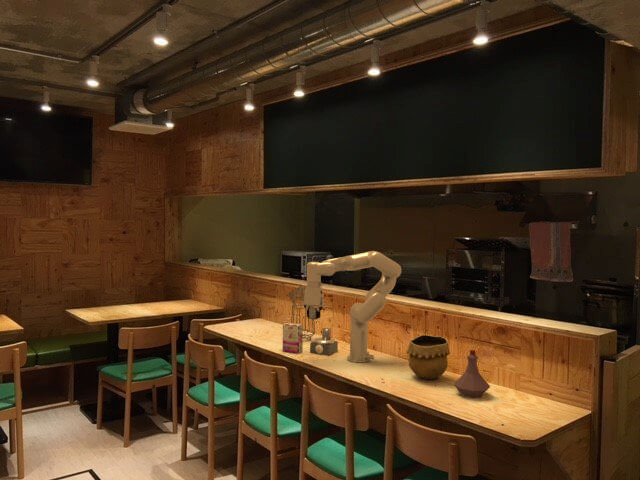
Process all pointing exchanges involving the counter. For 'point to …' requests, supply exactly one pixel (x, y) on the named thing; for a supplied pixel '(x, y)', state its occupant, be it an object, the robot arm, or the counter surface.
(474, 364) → the flask
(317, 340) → the pan
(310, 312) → the cylinder
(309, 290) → the robot arm
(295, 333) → the candy bar box
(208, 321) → the counter surface
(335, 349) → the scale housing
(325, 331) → the disc
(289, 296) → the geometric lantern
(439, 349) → the clay pot
